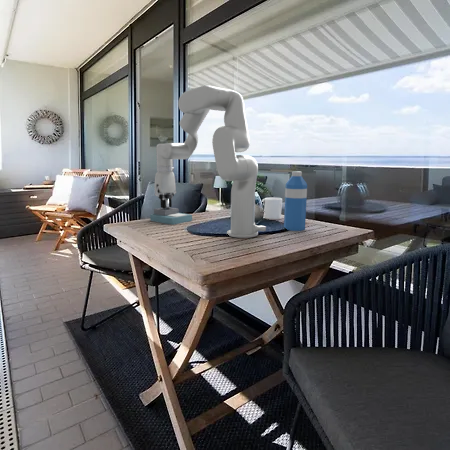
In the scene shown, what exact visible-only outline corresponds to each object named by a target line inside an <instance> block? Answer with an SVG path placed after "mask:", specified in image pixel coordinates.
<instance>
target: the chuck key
mask: <svg viewBox="0 0 450 450" xmlns="http://www.w3.org/2000/svg"><path fill="white" fill-rule="evenodd" d="M169 198H172V194H167V193H165V200H166V208H163V210H169ZM172 199H173V198H172Z"/></svg>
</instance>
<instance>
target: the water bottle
mask: <svg viewBox="0 0 450 450" xmlns="http://www.w3.org/2000/svg"><path fill="white" fill-rule="evenodd" d="M302 175H303V172H302V171H298V170H297V171H296V170H295V171H294V170H293V171H291V176H290V178H288V180H287V181H286V183H285V189H284V190H285V191H284V192H285V193H284V210H283V211H284V214H283V215H284V217H283V228H284V227H285V228H286V229H287V230H286V231H291V232H293V231H294V232H301V231H305V230H306V220H307V219H306V216H307V201H308V200H307V198H308V197H307V196H308V184H307V181H305V179H304V178H303V176H302Z"/></svg>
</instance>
